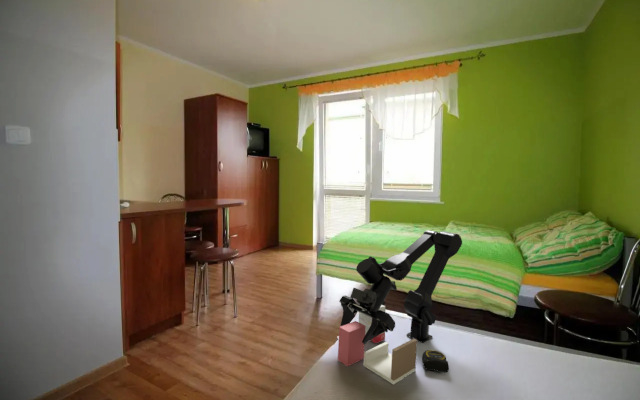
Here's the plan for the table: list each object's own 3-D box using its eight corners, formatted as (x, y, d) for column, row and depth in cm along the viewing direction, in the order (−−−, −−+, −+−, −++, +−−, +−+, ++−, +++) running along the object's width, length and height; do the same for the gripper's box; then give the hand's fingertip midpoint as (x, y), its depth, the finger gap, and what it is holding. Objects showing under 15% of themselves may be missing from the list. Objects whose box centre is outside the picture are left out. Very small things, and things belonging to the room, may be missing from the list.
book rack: (385, 354, 96) (386, 325, 95) (415, 370, 88) (417, 339, 87) (363, 365, 89) (365, 335, 89) (393, 384, 81) (395, 351, 81)
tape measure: (422, 372, 88) (423, 359, 87) (420, 359, 94) (421, 347, 94) (448, 376, 86) (449, 363, 86) (444, 363, 93) (445, 350, 92)
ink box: (385, 340, 104) (387, 306, 104) (374, 344, 101) (376, 309, 101) (367, 330, 112) (369, 297, 111) (357, 333, 109) (358, 300, 108)
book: (354, 352, 96) (355, 320, 96) (363, 358, 93) (365, 325, 93) (337, 360, 92) (339, 326, 91) (347, 366, 89) (349, 332, 88)
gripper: (344, 270, 102) (317, 311, 95) (391, 286, 87) (363, 335, 81) (359, 290, 107) (334, 329, 100) (406, 307, 93) (380, 355, 86)
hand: (351, 336), depth 92 cm, fingers open, 9 cm apart
